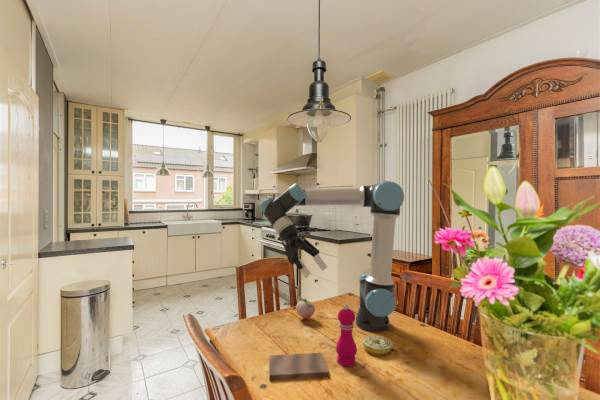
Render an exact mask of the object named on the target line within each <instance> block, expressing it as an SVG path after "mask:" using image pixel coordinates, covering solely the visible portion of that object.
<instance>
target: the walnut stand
mask: <svg viewBox="0 0 600 400" xmlns="http://www.w3.org/2000/svg"><path fill="white" fill-rule="evenodd" d="M268 362H269V363H268V364H269V365H268V366H269V367H268V369H269V372H268V373H269V376H268V377H269V378H268V379H269V381H277V380H294V379H309V378H310V379H313V378H323V377H324V378H325V377H326V378H327V377H328V378H329V375H330V373H329V369H328V366H327V363H326V361H325V357H324V354H323V352H312V353H311V352H309V353H307V352H306V353H294V354H293V353H290V354H288V353H287V354H271V355H270V354H269V358H268Z"/></svg>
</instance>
